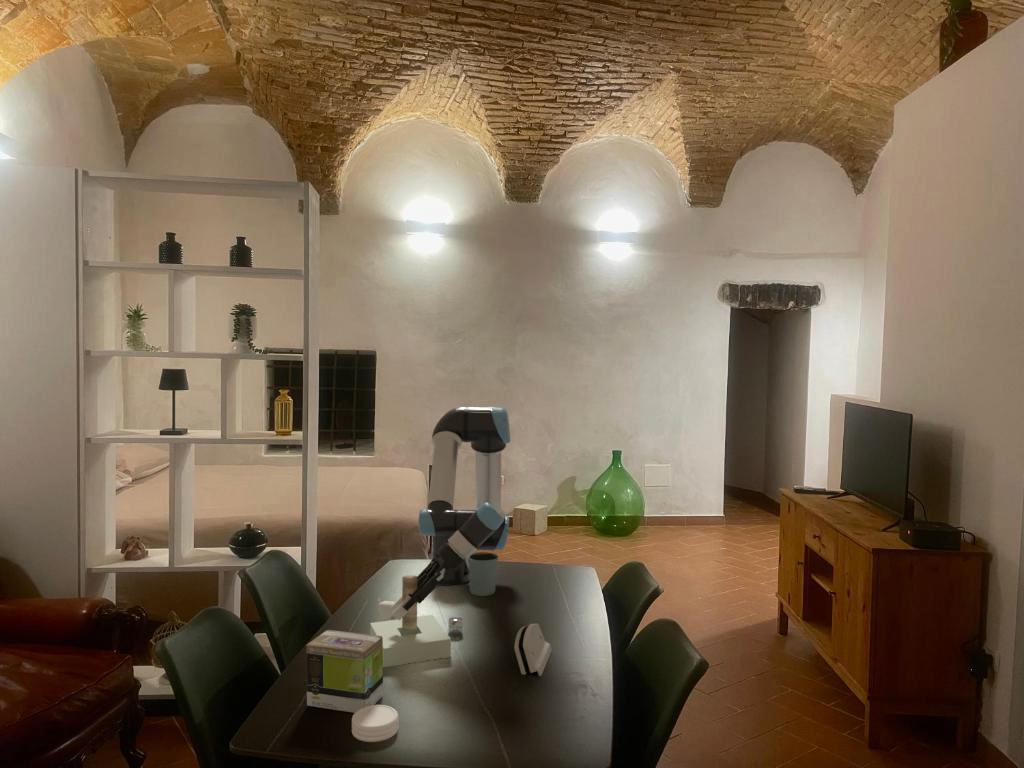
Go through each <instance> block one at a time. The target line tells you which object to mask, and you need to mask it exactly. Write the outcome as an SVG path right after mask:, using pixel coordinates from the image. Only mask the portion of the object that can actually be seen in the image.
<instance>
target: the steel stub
mask: <svg viewBox="0 0 1024 768" xmlns="http://www.w3.org/2000/svg"><path fill="white" fill-rule="evenodd" d="M447 634H448V636H453V637H456V636H460V635H462V634H463V618H462V617H460V616H452V617H451V616H450V617H449V618H448V633H447Z"/></svg>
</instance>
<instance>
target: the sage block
mask: <svg viewBox="0 0 1024 768" xmlns="http://www.w3.org/2000/svg"><path fill="white" fill-rule="evenodd" d="M369 626H370V627H369V635H377V636H382V638H383V668H389V667H396V666H403V664H404V665H409V664H408V663H410V664H415V663H414V662H416V663H421V662H420V661H423V662H427V661H426V660H429V661H435V660H434V659H436V660H440V659H439V658H442V659H447V658H446V657H449V658H451V657H452V639H451V637H450V635H449V633H447V632H446V630H445V629H444V628H443V627H442V625H441V624H440V622H439V621H438V619H437V618H436V617H435V616H434V614H428V615H419V616H417V629H415V630H412V631H406V630H403V629H402V618H401V619H400V620H398V619H397V620H391V619H390V620H389V621H382V622H381V621H376V622H370V624H369Z"/></svg>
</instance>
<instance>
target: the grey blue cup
mask: <svg viewBox="0 0 1024 768" xmlns="http://www.w3.org/2000/svg"><path fill="white" fill-rule="evenodd" d="M467 563H468V566H469V581H468V583H469V585H468V586H469V593H470V594H471V595H475V596H480V597H481V596H482V597H486V596H491V595H493V594H495V592H496V584H497V572H498V563H499V555H498V554H496V553H494V552H489V551H487V552H485V551H483V552H482V551H481V552H480V551H479V552H476V553H475V554H472V555H471V556H470V557H469V558H468V559H467Z"/></svg>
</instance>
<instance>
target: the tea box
mask: <svg viewBox="0 0 1024 768" xmlns="http://www.w3.org/2000/svg"><path fill="white" fill-rule="evenodd" d="M305 649H306V652H305V653H306V656H305V657H306V658H305V659H306V705H307V706H308V707H316V708H322V709H328V710H333V711H339V712H340V711H341V712H348V713H352V714H354V713H355V712H357V711H358V710H360V709H361V708H364V707H367V706H371V705H377V703H378V701H380V700H381V698H382V697H383V692H384V667H383V638H382V636H377V635H370V634H368V633H367V634H365V633H357V632H350V631H349V632H348V631H341V630H331V629H327V630H325V631H324V632H323V633H321V634H319V635H318V636H317V637H315V638H314V639H313V640H312V641H310V642H308V643H307V644H306V648H305Z"/></svg>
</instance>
